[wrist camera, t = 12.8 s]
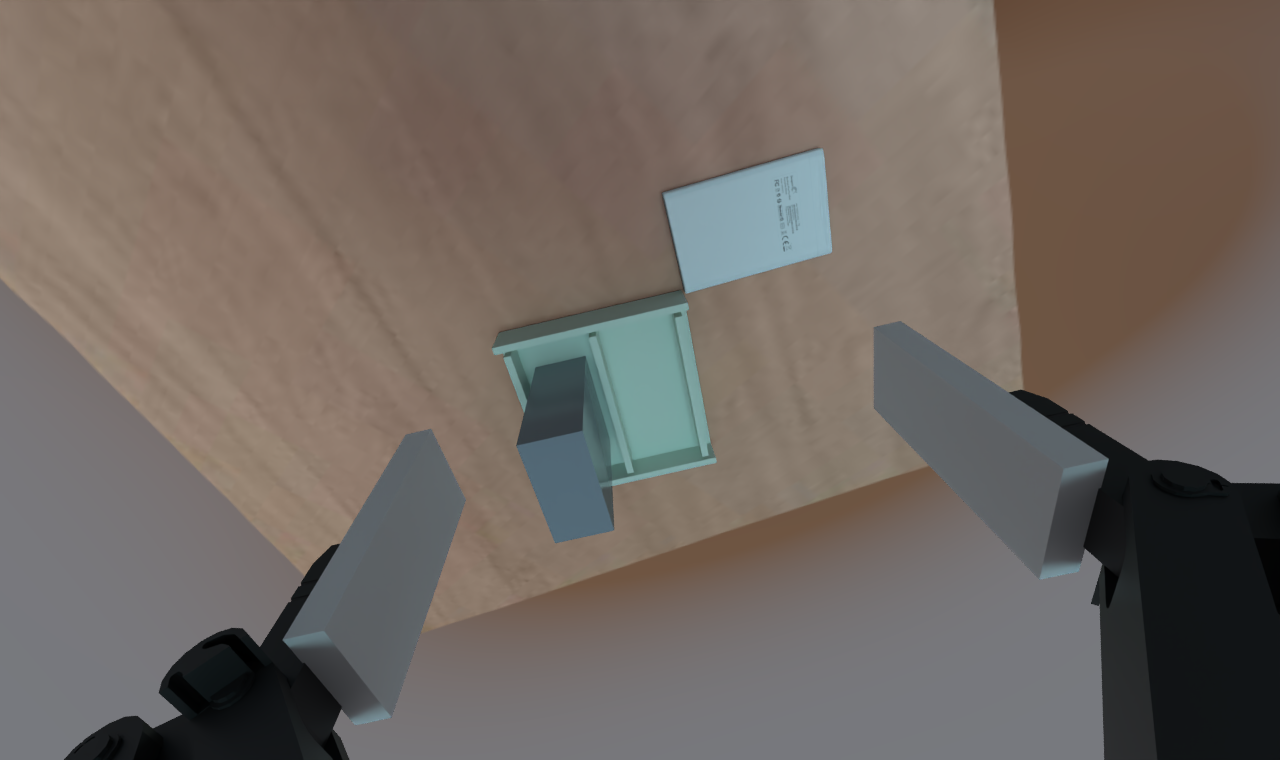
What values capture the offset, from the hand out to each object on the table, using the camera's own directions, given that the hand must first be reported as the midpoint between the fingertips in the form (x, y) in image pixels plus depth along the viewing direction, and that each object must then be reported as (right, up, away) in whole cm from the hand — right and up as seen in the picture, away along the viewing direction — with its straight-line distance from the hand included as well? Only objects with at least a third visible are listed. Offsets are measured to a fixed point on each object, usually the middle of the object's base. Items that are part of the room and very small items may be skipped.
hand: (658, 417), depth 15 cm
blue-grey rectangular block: (-7, -1, +31) cm, 32 cm away
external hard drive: (+8, +14, +27) cm, 31 cm away
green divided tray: (-3, 0, +32) cm, 32 cm away
